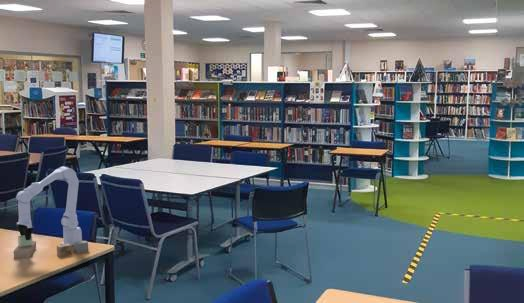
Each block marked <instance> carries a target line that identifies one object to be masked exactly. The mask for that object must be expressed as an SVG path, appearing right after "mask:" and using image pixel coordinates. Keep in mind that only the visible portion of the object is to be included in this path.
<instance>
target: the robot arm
mask: <svg viewBox="0 0 524 303" xmlns="http://www.w3.org/2000/svg"><path fill="white" fill-rule="evenodd" d="M56 180H64V181H65V182H66V183H67V184H68V187H67V196H66V202H65V203H66V206H65V212H64V213H63V215H62V218H61V220H60V222H61V223H60V224H61V225H62V234H63V235H62V236H63V238H62V239H63V241H62V242H60V245H62V244H67V243H68V244H70V245H71V246H74V243H75V242H80V241H83V234H82V233H83V232H82V229H81V227H80V226H78V225H79V221H78V215H77V203H78V192H79V184H80V181H79V179H78V176H77V172H76V171H75V170H74V169H73V168H71V167H67V166H63V165H62V166H60V167H58V168H56V169H54V171H53V172H51V173H50V174H49V175H47V176H46V177H44V178H43V179H42V180H41V181H39V182H32V183H31V184H30V185H29V186H27V187H26V188H23V190H20V191H18V192H17V194H16V196H15V199H16V200H17V209H18V222H16V225H15V226H16V227H17V229H18V231H19V236H22V235H25V239H26V240H30V239H31V235H32V234H33V231H34V228H35V226H33V225H32V219H31V216H32V215H31V200H32V198H34V197H35V196H37V195H38V194H39V193H41V192H43V190H44V187H47V186H48V185H49V184H51V183H53V182H54V181H56ZM32 236H33V235H32Z"/></svg>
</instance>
